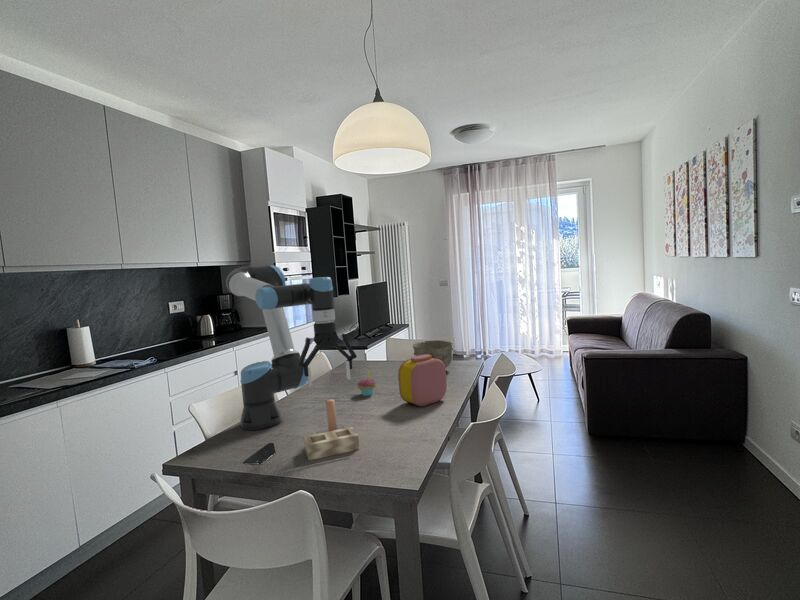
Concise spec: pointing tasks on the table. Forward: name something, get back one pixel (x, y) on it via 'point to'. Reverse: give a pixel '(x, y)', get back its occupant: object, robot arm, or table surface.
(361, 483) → the table surface
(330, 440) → the hole block
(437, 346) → the bowl
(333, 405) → the peg
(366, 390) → the cupcake
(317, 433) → the mat
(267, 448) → the smartphone
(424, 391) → the alarm clock
